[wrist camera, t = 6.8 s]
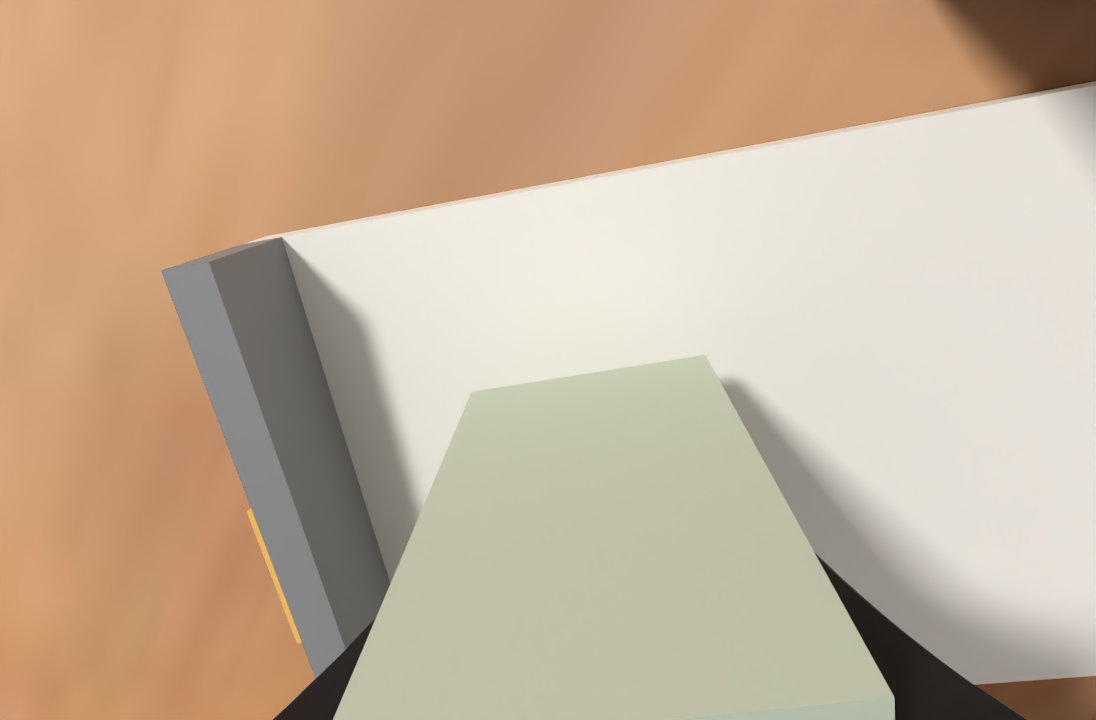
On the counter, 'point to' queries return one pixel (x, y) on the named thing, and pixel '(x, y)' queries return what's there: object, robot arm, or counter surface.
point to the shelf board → (713, 360)
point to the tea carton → (611, 570)
